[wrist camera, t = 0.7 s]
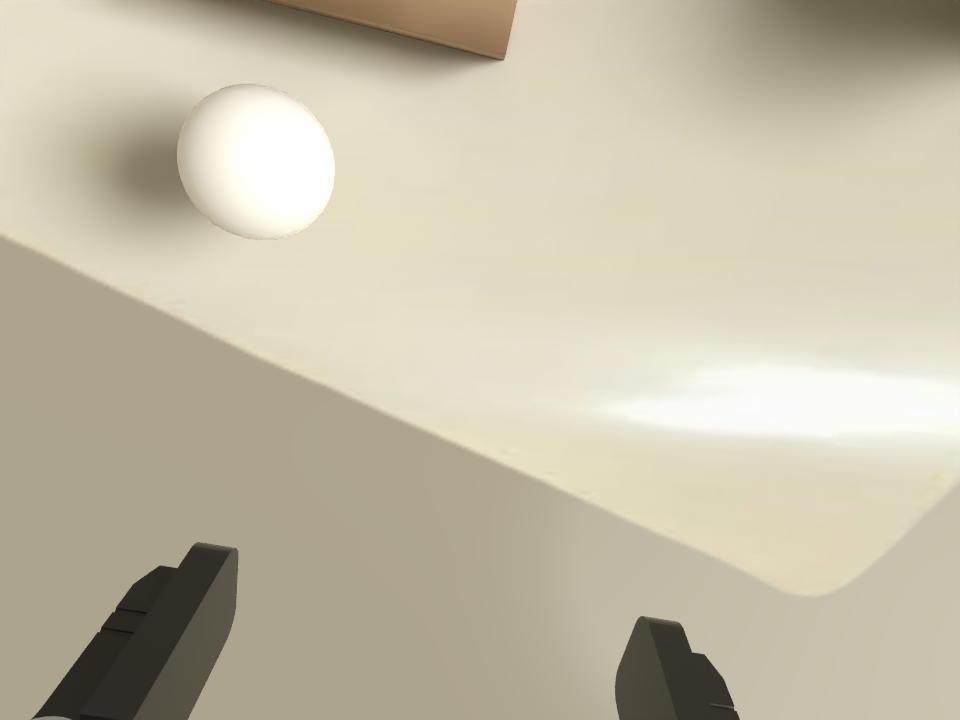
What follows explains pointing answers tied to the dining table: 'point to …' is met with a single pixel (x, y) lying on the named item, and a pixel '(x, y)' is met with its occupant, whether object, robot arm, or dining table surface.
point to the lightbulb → (255, 162)
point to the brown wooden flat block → (427, 20)
